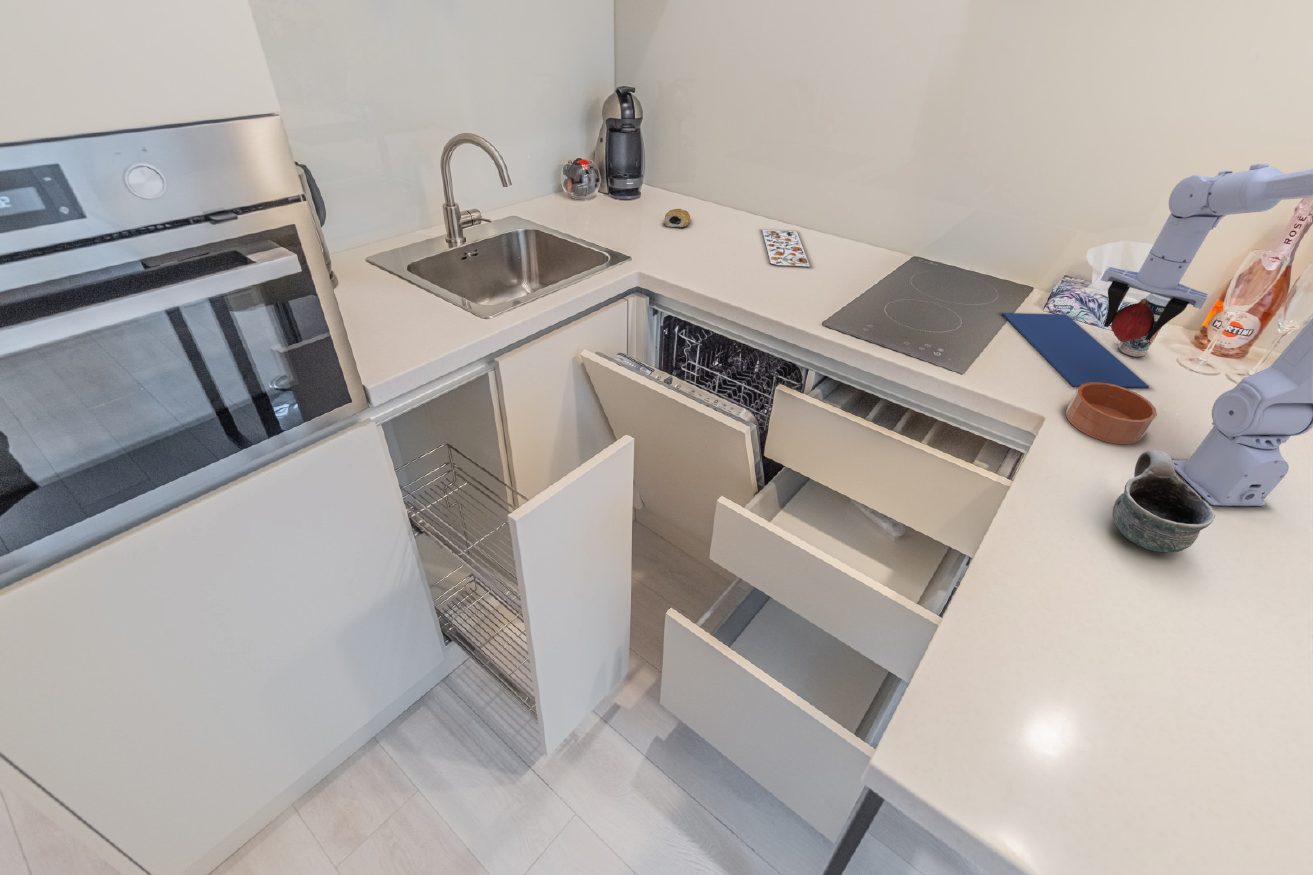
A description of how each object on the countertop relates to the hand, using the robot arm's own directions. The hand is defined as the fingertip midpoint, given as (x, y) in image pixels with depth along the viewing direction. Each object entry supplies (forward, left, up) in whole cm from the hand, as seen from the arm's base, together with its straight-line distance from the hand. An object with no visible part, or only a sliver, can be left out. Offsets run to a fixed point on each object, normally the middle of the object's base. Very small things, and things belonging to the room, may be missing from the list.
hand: (1127, 331), depth 107 cm
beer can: (+11, -13, -10) cm, 20 cm away
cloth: (+12, -1, -10) cm, 16 cm away
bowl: (-13, +7, -10) cm, 18 cm away
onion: (0, 0, -2) cm, 2 cm away
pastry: (+77, +74, -10) cm, 107 cm away
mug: (-37, +17, -10) cm, 42 cm away
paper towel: (+61, +47, -10) cm, 78 cm away
